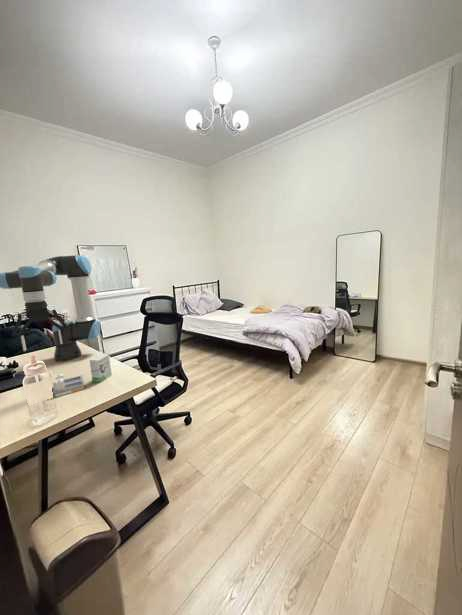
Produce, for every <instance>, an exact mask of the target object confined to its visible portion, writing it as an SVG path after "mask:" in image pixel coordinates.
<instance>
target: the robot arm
mask: <svg viewBox="0 0 462 615" xmlns="http://www.w3.org/2000/svg"><path fill="white" fill-rule="evenodd" d="M91 273H92V265H91V263H90V260H89V258H87V257H86V256H85V255H79V254H78V255H65V256H64V255H62V256H61V255H59V256H54V257H51V258H47V259H44V260H41V261H39V262H38V263H36V264H34V265H25V266H19V267H18V268H17V270H14V271H11V272H10V271H9V272H8V271H5V272H0V289H2V290H3V289H4V290H7V289H9V290H11V289H22V290H21V291H22V297H23V301H24V306H25V307H24V308H25V311H26V312H25V313H18V314H17V320H16V323H15V325H14V328H13V330H12V332H11V334H10V336H11V337H17V342H18V344H19V345H22V349H23V350H22V351H23V352H26V351H27V345H26V341H25V337H24V335H23V333H24V332H25V331H26V330H27V328H28V327H29V326H30V324H31V323H37V322H38V323H39V322H44V321H46V322H48V323H49V324H51V325H53V326H52V327H51V330H52V336H53V340H54V345H55V348H54V349H55V350H54V354H53V359H54V361H55V362H66V361H70V360H74V359H76V358H79V357H81V355H82V350H81V348H80V347H79V345H78V344H77V341H78V342H79V341H86V340H90V341H91V340H95V339H97V338H98V337H99V336H100V332H101V323H100V321H99V320H96V317H94V316H93V311H92V306H91V298H90V294H89V287H88V278H89V277H90V276H89V275H90V274H91ZM57 276H67V277H66V278H67V279H68V280H69V281H70V284H71V288H72V289H71V290H72V296H73V302H74V306H75V313H76V319H75V320H74V321H73V320H67V321H64V320H63V319H62V317H60V316H59V315H58V313H57V311H56V309H52V310H48V306H47V301H46V300H45V299H46V294H45V289H44V287H50V286H53V285H55V284H56V283H57V280H58V279H57ZM50 314H51V315H53V316H54V317H55V319H56V320H57V321H58V323H57V322H56V321H54V320H53V319H51V318H50V317H49V315H50ZM25 317H26V318H27V319H28V320H27V322H26V323H25V324H24V325H23V327H22V328H21V329H20V331H19V332H18V329H19V327H20V324H21V322H22V320H23V319H24V318H25ZM17 332H18V333H17Z"/></svg>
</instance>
